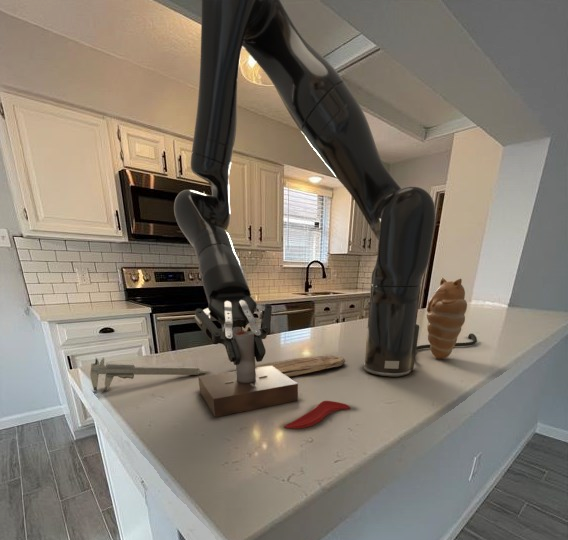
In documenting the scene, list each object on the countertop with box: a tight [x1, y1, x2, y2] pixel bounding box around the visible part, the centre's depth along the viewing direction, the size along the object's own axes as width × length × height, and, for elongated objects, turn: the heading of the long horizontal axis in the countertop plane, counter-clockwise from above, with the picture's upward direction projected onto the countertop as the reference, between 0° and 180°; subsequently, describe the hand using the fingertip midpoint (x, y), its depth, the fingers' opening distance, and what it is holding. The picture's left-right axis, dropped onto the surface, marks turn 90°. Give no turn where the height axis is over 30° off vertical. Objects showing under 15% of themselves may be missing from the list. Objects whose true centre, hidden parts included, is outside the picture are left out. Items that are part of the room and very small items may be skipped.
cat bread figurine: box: [426, 277, 468, 359], centre depth 72 cm, size 9×8×18 cm
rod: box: [233, 330, 256, 383], centre depth 53 cm, size 3×3×8 cm
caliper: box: [89, 356, 206, 392], centre depth 62 cm, size 20×1×6 cm, turn 119°
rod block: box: [198, 366, 299, 418], centre depth 55 cm, size 14×11×3 cm
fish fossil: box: [234, 354, 346, 378], centre depth 69 cm, size 26×10×1 cm, turn 118°
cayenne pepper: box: [283, 400, 351, 429], centre depth 48 cm, size 12×5×2 cm, turn 115°
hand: (249, 360), depth 52 cm, fingers closed on rod, 3 cm apart
